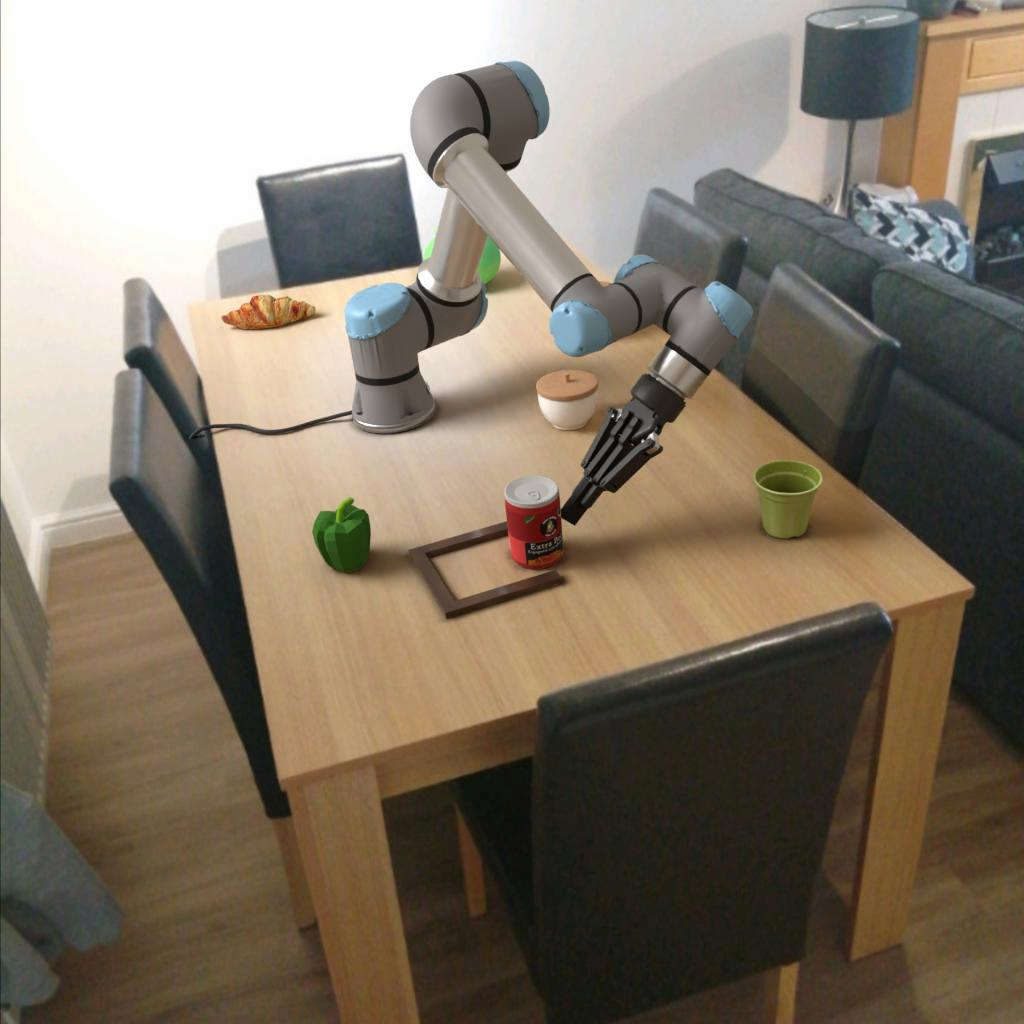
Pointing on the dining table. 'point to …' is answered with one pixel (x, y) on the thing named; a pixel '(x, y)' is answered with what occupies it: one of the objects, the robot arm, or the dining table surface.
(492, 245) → the toy bird
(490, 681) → the dining table surface
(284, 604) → the dining table surface
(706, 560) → the dining table surface
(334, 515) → the bell pepper
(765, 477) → the plant pot
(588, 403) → the trinket box
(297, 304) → the croissant
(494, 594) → the walnut frame
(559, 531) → the canned food
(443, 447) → the dining table surface
